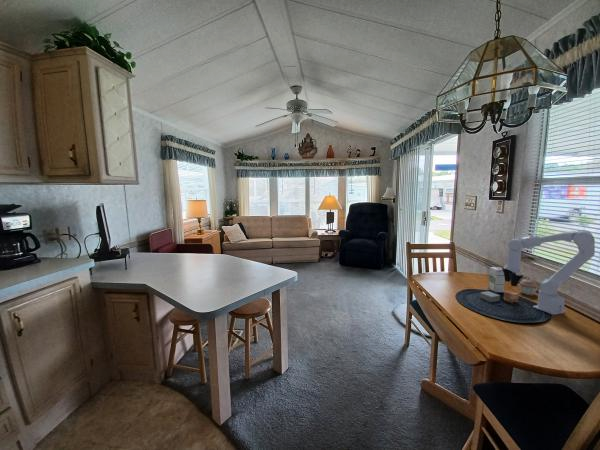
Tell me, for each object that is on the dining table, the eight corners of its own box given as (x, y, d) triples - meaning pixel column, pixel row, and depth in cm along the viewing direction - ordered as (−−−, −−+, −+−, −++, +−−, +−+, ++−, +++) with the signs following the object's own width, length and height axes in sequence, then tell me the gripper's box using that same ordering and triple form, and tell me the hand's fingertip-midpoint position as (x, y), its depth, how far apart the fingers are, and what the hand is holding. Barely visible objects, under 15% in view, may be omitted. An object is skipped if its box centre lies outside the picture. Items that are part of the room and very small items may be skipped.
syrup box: (504, 292, 157) (506, 269, 155) (494, 292, 157) (496, 269, 155) (497, 288, 163) (499, 266, 161) (487, 288, 163) (489, 266, 161)
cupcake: (513, 290, 159) (514, 275, 158) (528, 290, 159) (530, 275, 158) (525, 296, 150) (527, 280, 149) (542, 296, 150) (544, 280, 148)
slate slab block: (499, 301, 145) (499, 295, 145) (490, 302, 144) (491, 296, 143) (488, 296, 152) (488, 291, 151) (479, 298, 150) (480, 292, 149)
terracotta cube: (517, 302, 143) (518, 293, 143) (511, 303, 142) (512, 294, 142) (509, 299, 148) (510, 290, 147) (503, 300, 146) (504, 291, 146)
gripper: (499, 256, 150) (496, 278, 152) (511, 263, 137) (507, 287, 139) (514, 257, 148) (510, 279, 150) (527, 264, 135) (523, 289, 137)
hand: (510, 283), depth 144 cm, fingers open, 7 cm apart
